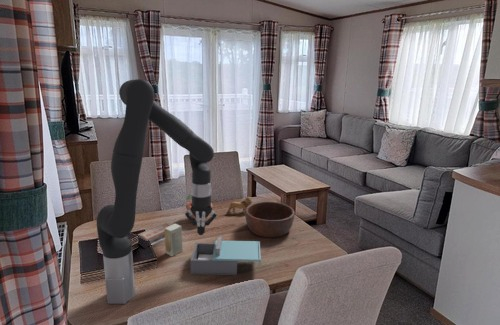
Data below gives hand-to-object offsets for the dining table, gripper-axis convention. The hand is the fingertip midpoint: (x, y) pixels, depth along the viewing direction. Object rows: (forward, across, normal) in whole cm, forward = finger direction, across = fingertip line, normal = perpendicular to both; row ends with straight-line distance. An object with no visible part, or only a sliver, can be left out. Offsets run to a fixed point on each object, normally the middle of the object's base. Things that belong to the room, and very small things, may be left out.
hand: (201, 234), depth 135 cm
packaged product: (+14, -25, +22) cm, 36 cm away
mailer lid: (+9, +15, +1) cm, 17 cm away
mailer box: (+14, +6, +1) cm, 15 cm away
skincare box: (+14, -13, +10) cm, 22 cm away
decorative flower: (+13, -8, +43) cm, 45 cm away
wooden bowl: (+13, +29, +35) cm, 48 cm away
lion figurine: (+13, +14, +55) cm, 58 cm away
